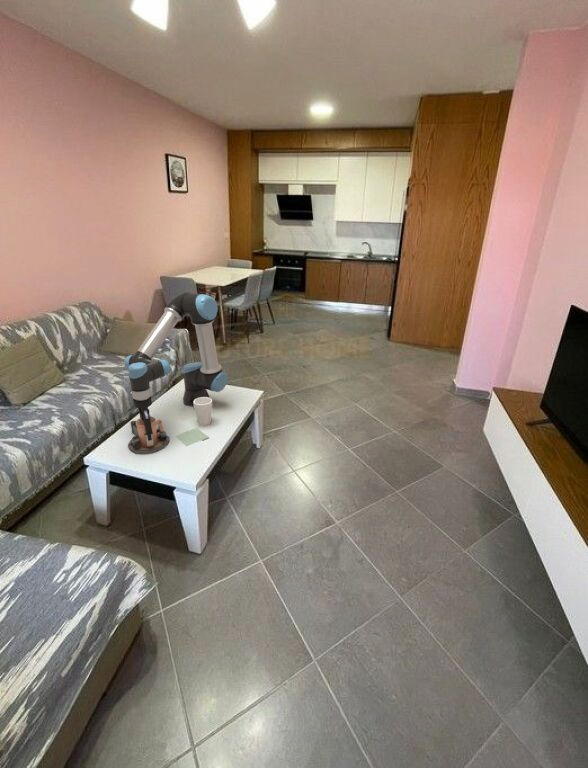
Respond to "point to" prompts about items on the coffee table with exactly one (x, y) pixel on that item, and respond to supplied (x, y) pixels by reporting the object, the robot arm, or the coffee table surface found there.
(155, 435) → the terracotta mug
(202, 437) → the mat
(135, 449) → the collar
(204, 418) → the foam cup
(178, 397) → the coffee table surface
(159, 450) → the base plate
